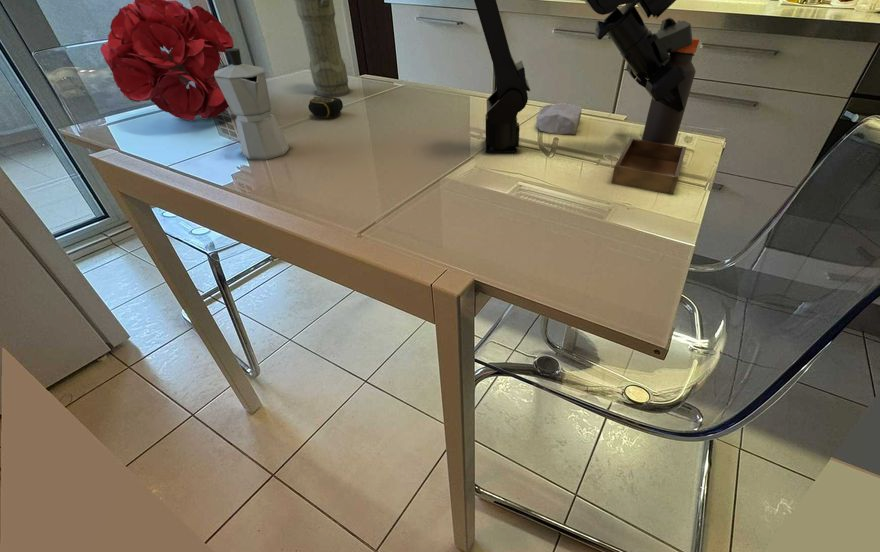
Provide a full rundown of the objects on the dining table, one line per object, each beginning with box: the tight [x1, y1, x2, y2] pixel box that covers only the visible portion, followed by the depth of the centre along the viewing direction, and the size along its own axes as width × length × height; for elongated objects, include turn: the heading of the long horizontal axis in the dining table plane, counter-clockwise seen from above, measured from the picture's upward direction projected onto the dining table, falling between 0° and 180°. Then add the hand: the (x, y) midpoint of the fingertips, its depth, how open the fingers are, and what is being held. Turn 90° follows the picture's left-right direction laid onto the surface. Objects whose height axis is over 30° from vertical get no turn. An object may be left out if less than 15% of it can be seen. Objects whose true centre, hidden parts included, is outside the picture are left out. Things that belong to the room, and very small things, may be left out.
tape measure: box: [308, 96, 344, 119], centre depth 104 cm, size 7×7×4 cm
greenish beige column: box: [294, 0, 350, 98], centre depth 109 cm, size 9×12×35 cm
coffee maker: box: [214, 47, 290, 161], centre depth 83 cm, size 15×9×18 cm, turn 47°
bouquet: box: [99, 0, 235, 122], centre depth 99 cm, size 22×24×30 cm
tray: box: [611, 137, 687, 195], centre depth 84 cm, size 11×15×3 cm
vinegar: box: [641, 37, 700, 145], centre depth 87 cm, size 7×7×20 cm
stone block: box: [536, 102, 583, 135], centre depth 103 cm, size 12×5×10 cm
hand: (675, 105), depth 88 cm, fingers closed on vinegar, 7 cm apart
